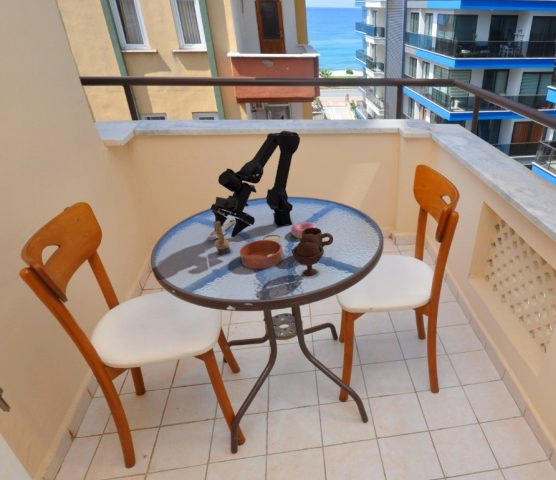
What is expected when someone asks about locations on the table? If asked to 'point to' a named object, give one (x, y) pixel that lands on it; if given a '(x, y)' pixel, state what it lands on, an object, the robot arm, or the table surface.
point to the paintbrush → (214, 234)
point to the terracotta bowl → (261, 254)
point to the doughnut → (301, 228)
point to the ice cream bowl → (308, 253)
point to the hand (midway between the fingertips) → (223, 234)
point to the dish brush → (221, 240)
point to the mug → (319, 236)
